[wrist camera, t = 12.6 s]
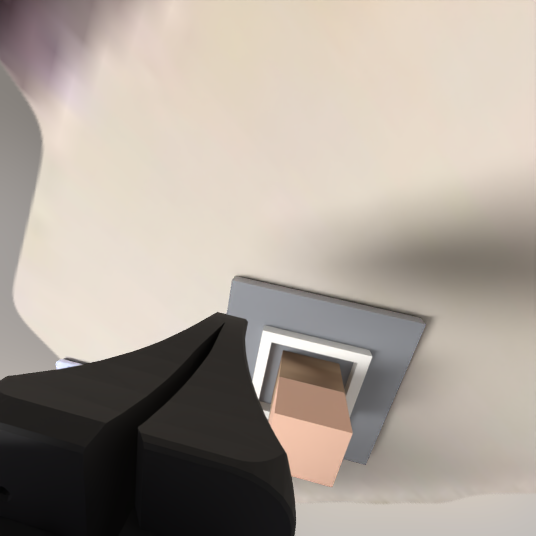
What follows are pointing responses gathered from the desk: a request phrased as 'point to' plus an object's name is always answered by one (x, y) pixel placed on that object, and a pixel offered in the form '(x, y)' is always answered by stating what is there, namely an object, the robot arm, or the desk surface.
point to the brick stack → (311, 416)
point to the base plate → (328, 348)
